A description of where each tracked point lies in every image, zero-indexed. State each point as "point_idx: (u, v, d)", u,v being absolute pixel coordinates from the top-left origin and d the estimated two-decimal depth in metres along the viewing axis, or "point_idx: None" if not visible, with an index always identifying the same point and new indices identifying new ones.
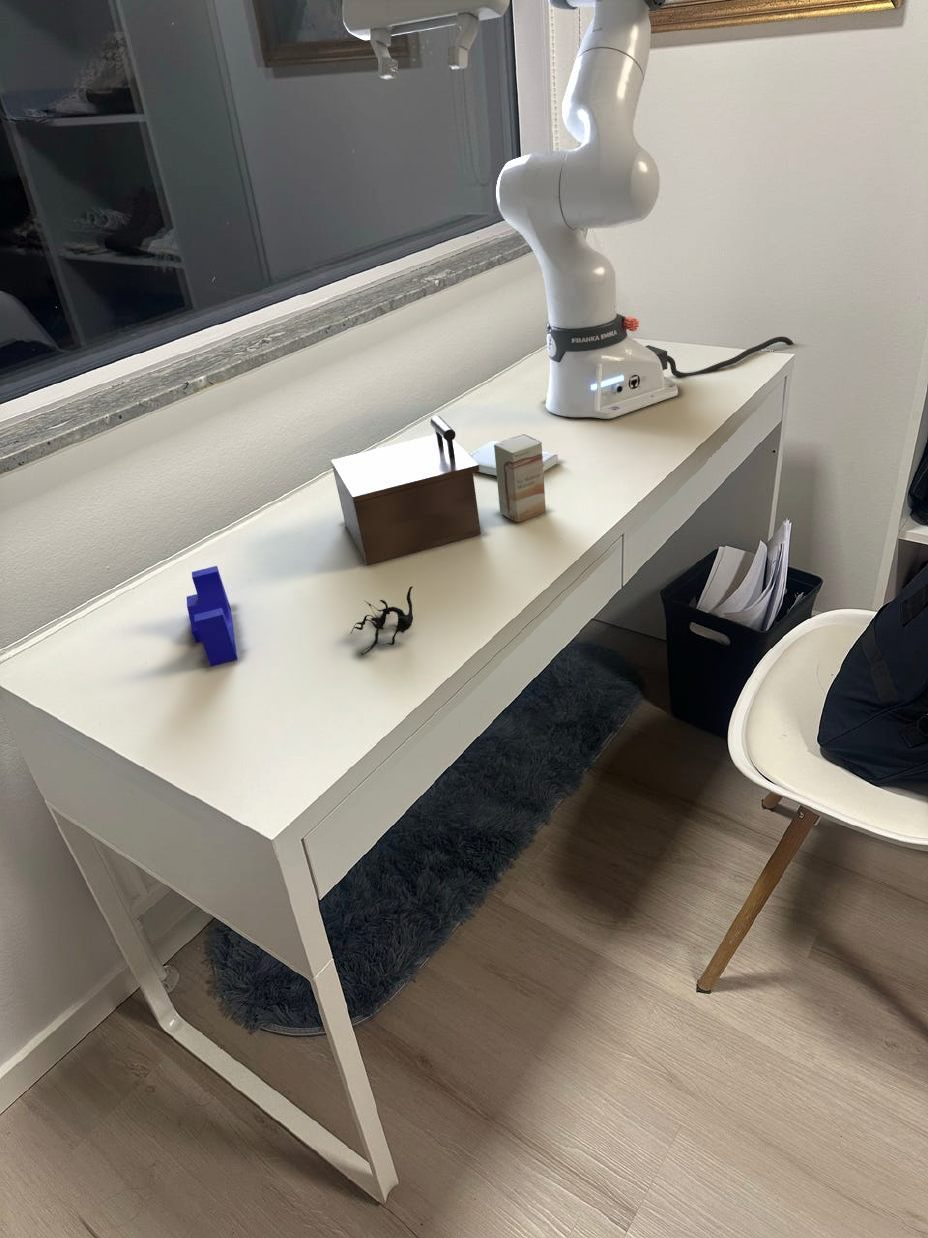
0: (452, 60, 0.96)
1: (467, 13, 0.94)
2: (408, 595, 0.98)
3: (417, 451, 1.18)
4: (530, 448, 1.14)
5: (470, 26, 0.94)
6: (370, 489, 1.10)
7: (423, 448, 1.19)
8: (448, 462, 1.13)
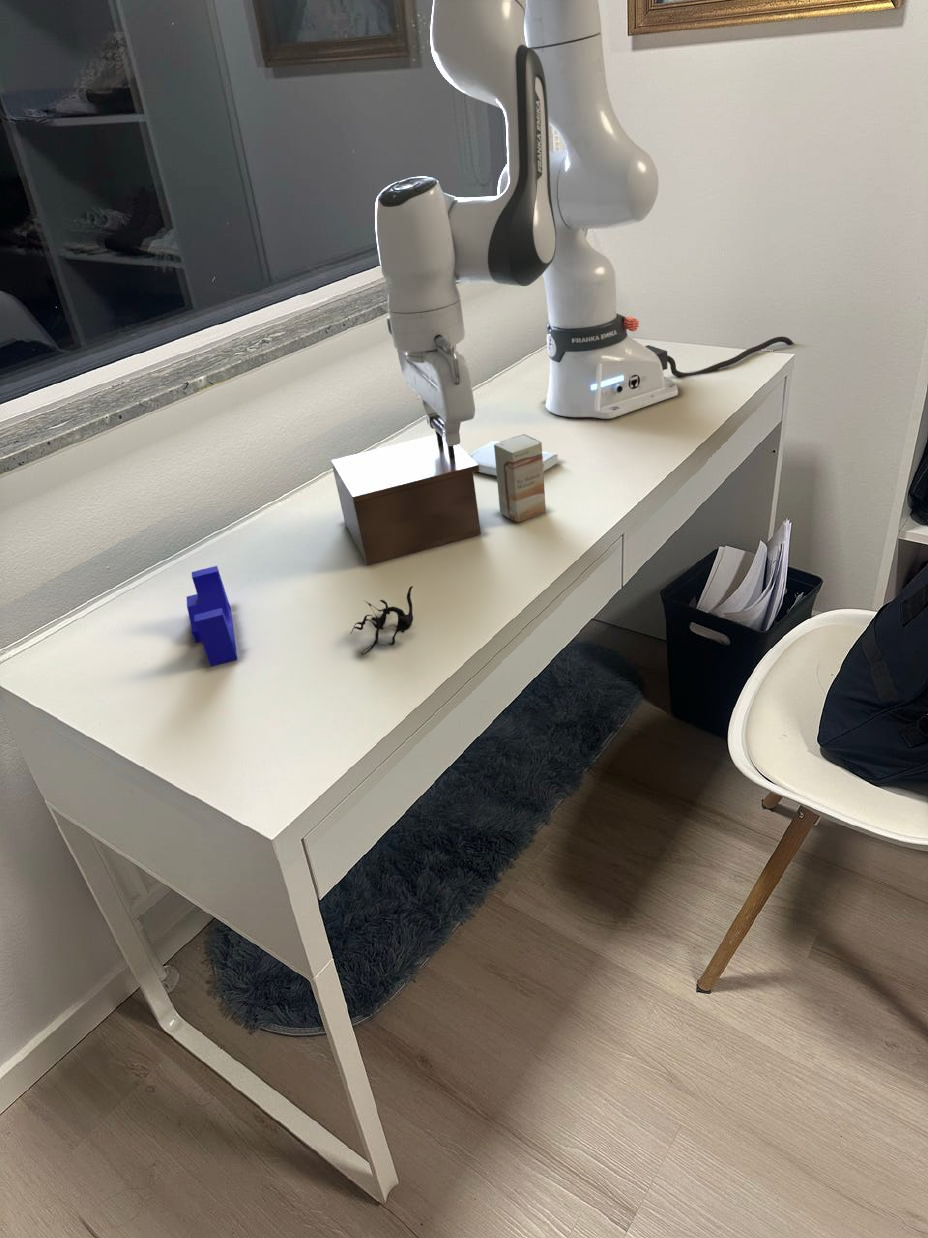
0: (445, 441, 1.12)
1: None
2: (408, 595, 0.98)
3: (417, 451, 1.18)
4: (530, 448, 1.14)
5: None
6: (370, 489, 1.10)
7: (423, 448, 1.19)
8: (448, 462, 1.13)
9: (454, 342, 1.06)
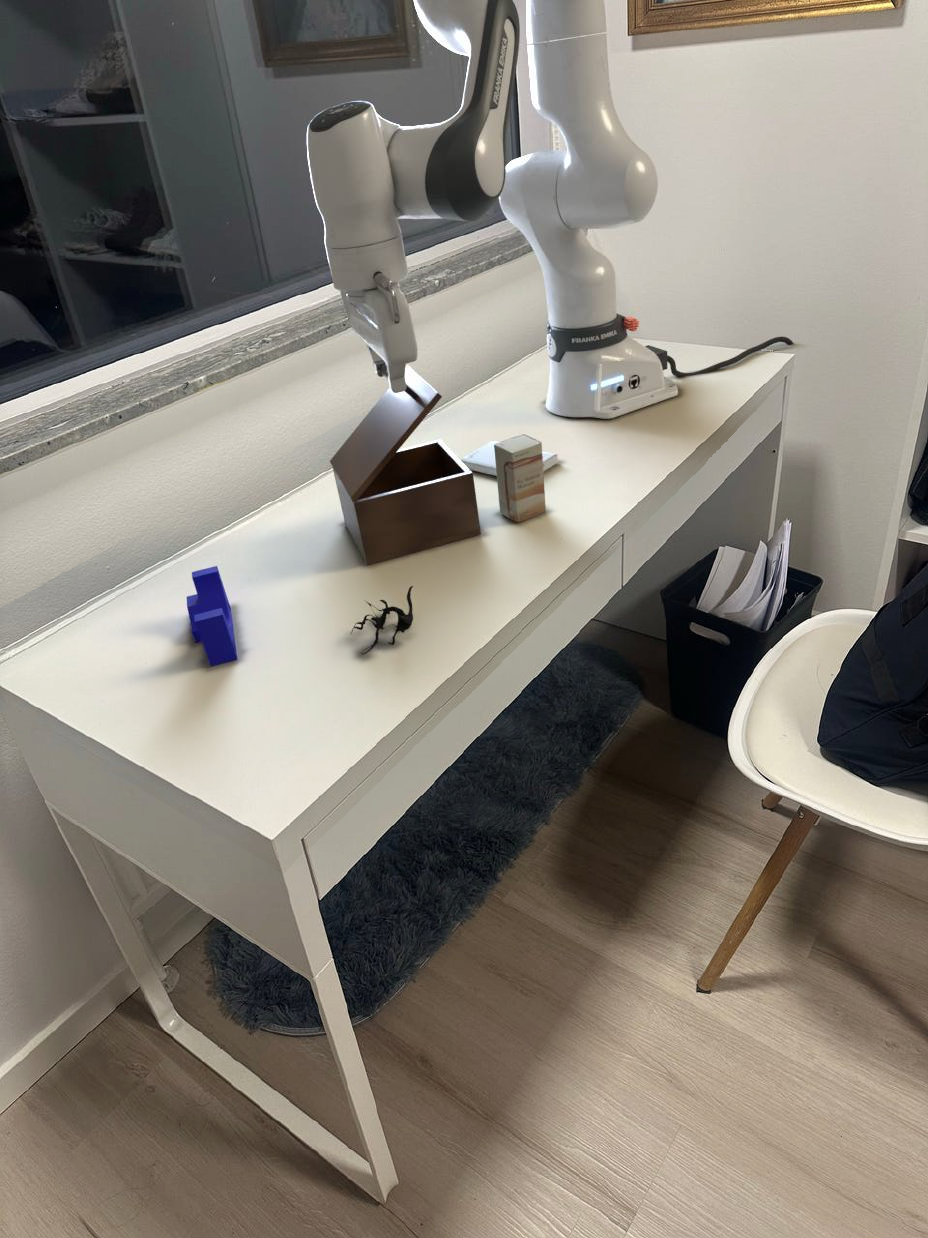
0: (390, 388, 1.07)
1: None
2: (408, 595, 0.98)
3: (389, 406, 1.14)
4: (530, 448, 1.14)
5: (393, 366, 1.03)
6: (361, 479, 1.09)
7: (393, 399, 1.14)
8: (414, 405, 1.08)
9: (395, 280, 1.00)
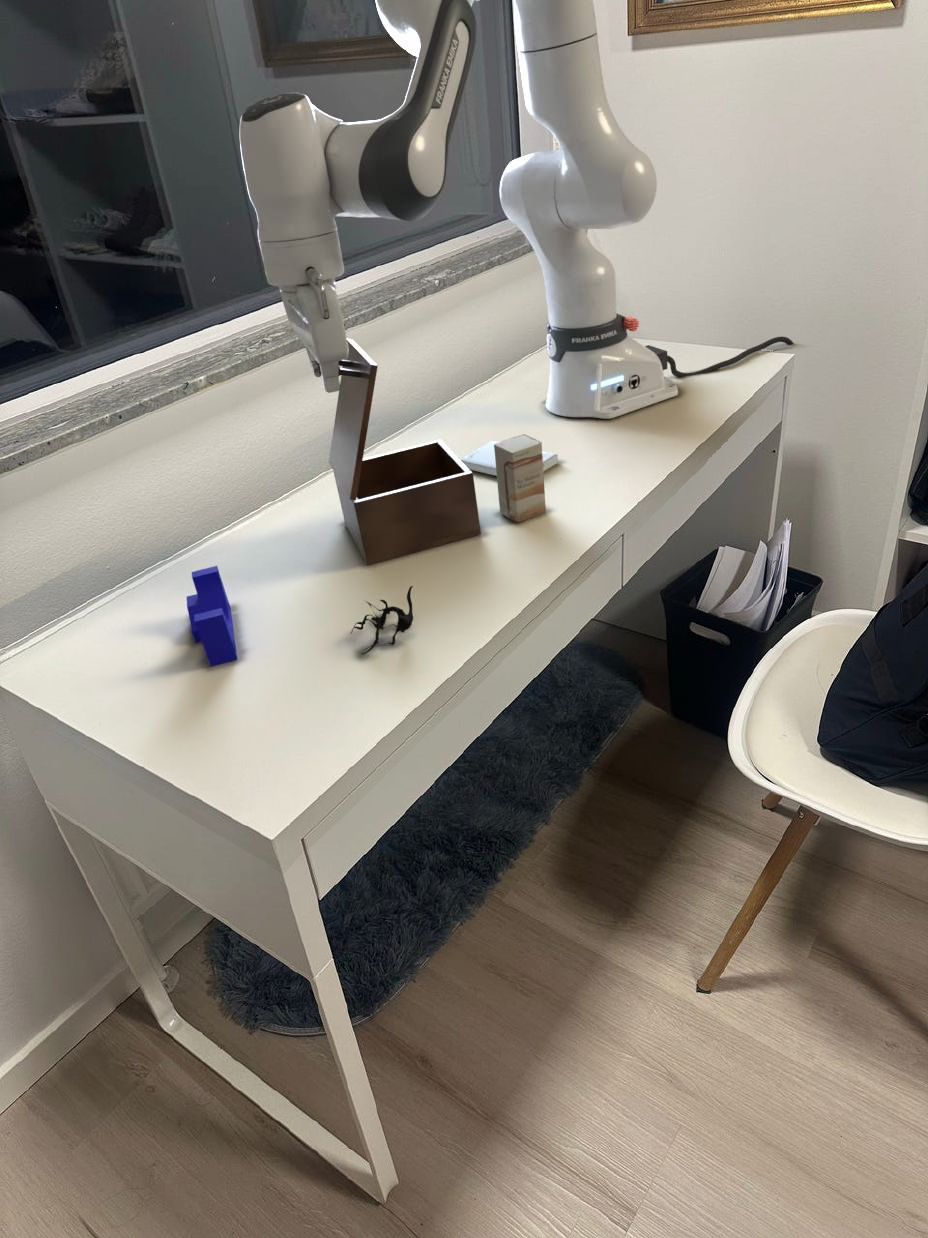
0: (324, 387, 1.04)
1: None
2: (408, 595, 0.98)
3: (347, 390, 1.11)
4: (530, 448, 1.14)
5: (325, 364, 1.01)
6: (351, 477, 1.08)
7: (347, 381, 1.11)
8: (361, 384, 1.05)
9: (329, 276, 0.98)
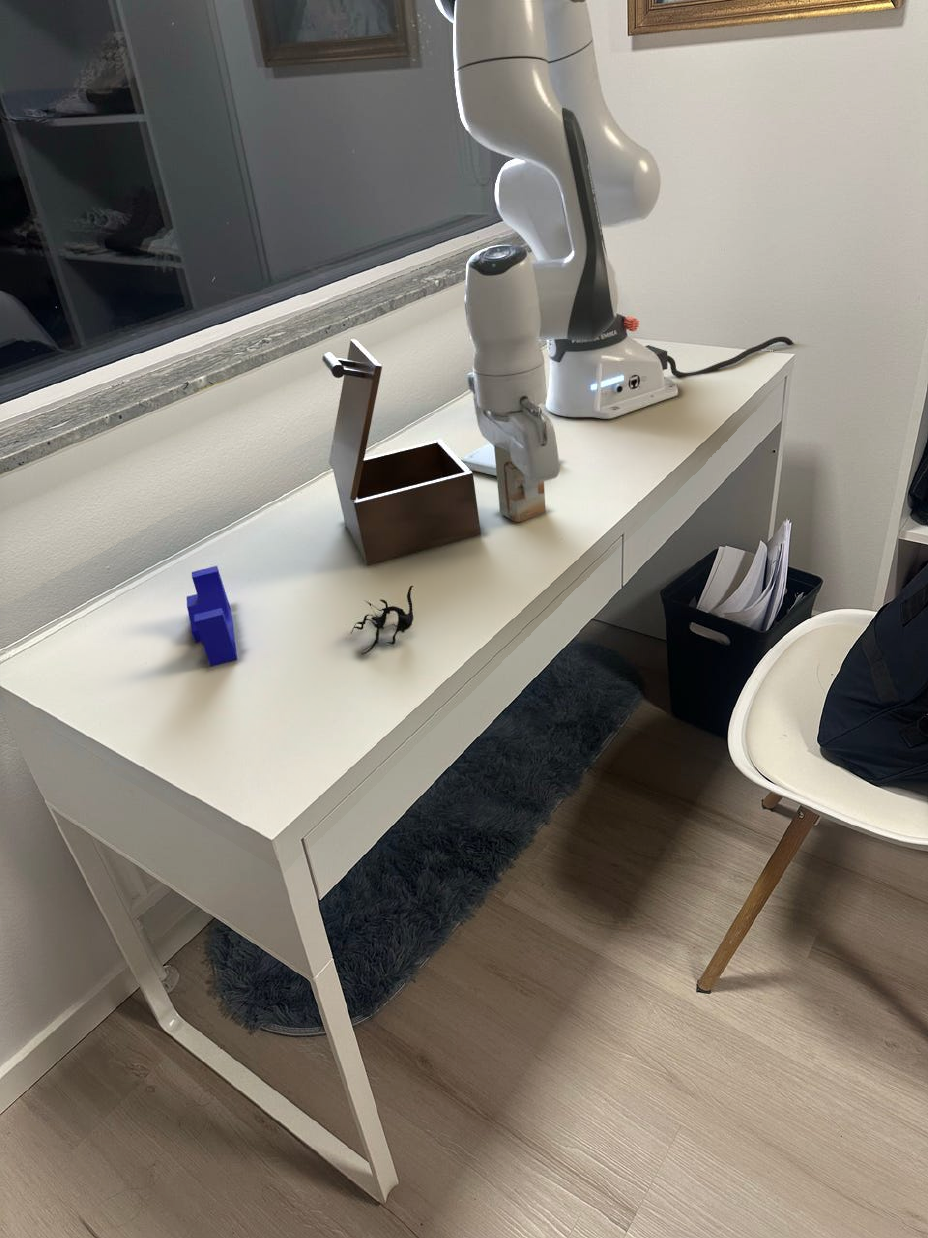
0: (523, 494, 1.16)
1: None
2: (408, 594, 0.98)
3: (350, 390, 1.11)
4: None
5: None
6: (351, 477, 1.08)
7: (350, 382, 1.11)
8: (364, 384, 1.05)
9: (538, 402, 1.09)
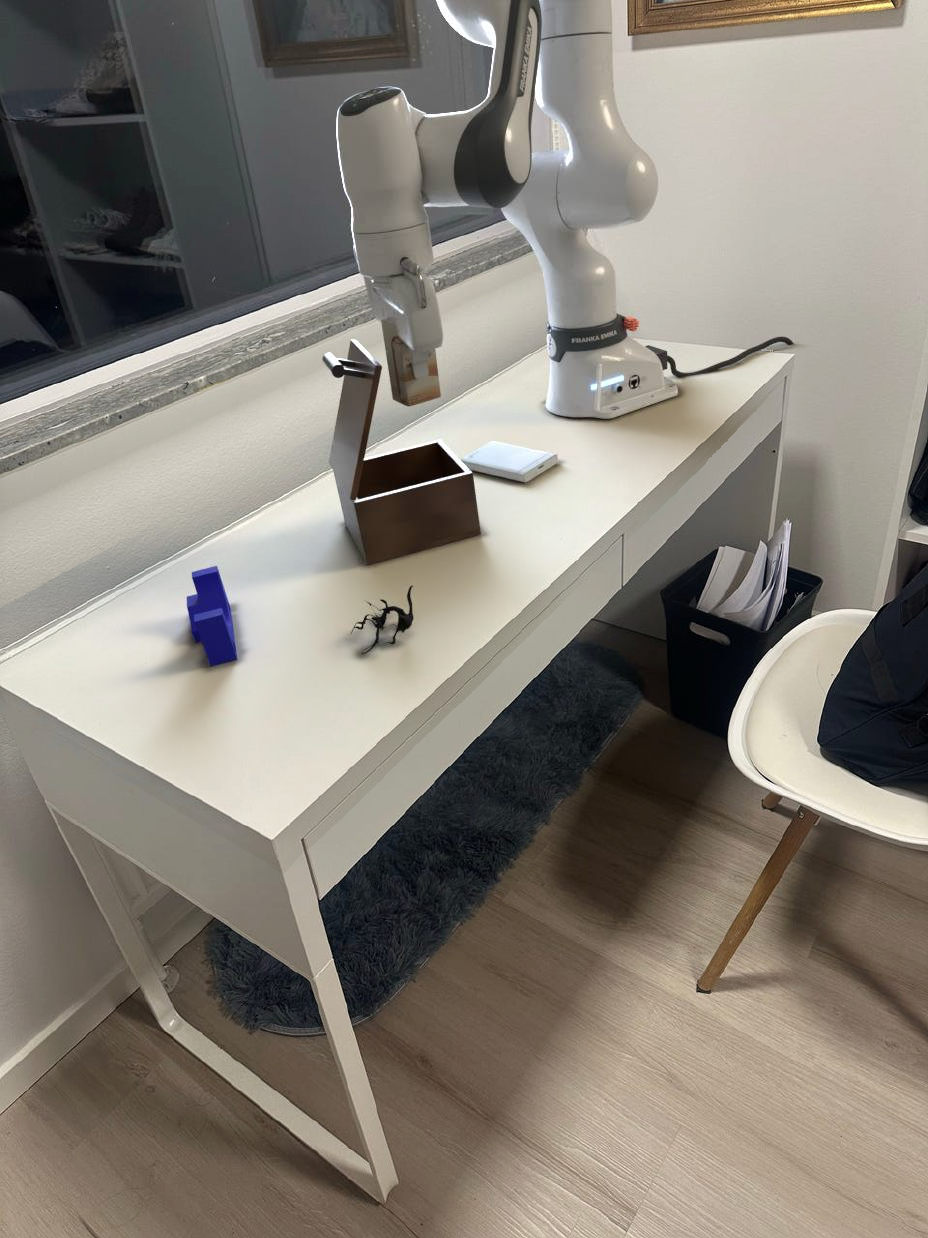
0: (412, 374, 1.07)
1: None
2: (408, 594, 0.98)
3: (350, 390, 1.11)
4: None
5: (416, 351, 1.04)
6: (351, 477, 1.08)
7: (350, 382, 1.11)
8: (364, 384, 1.05)
9: (422, 266, 1.00)
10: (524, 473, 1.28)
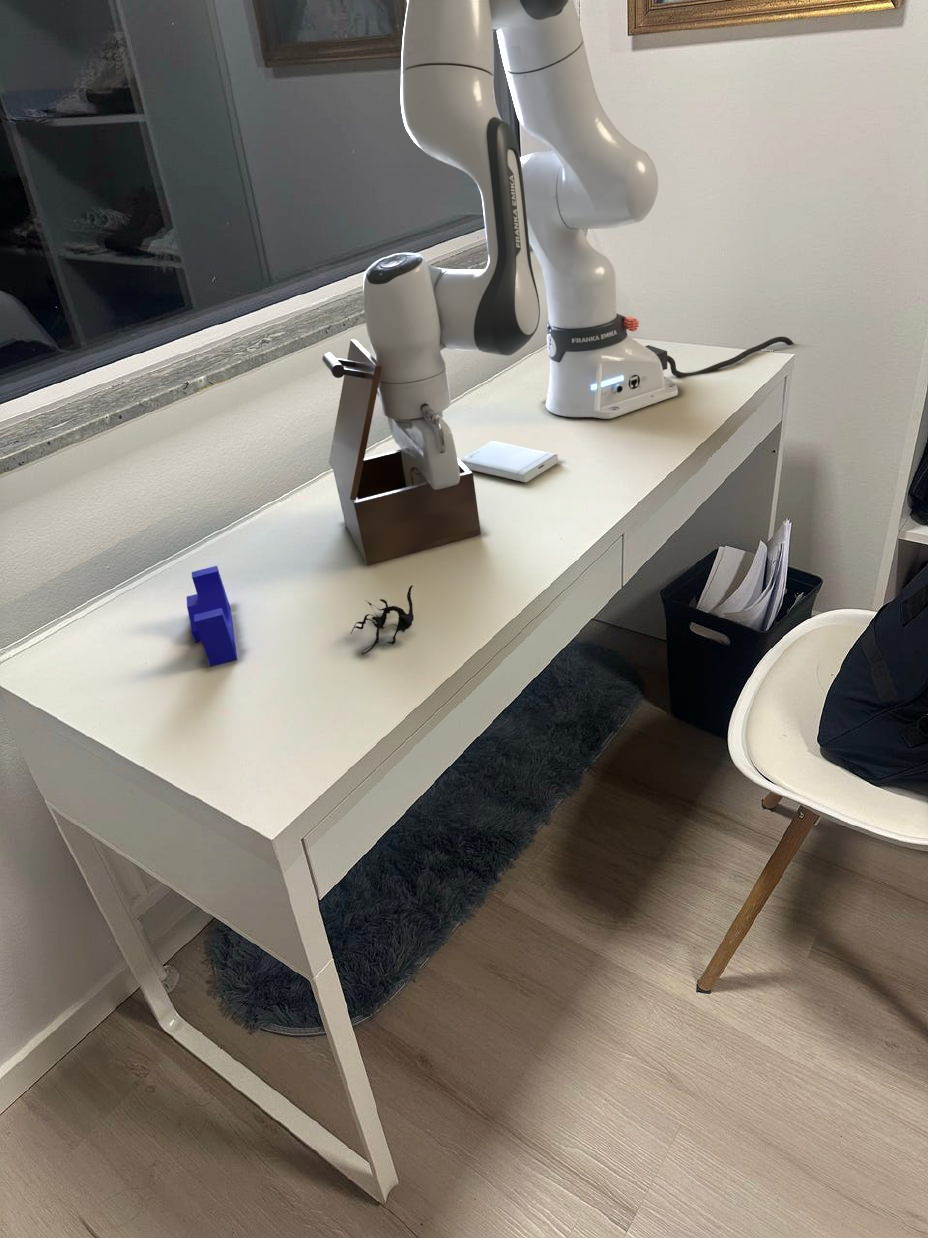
0: None
1: None
2: (408, 594, 0.98)
3: (350, 390, 1.11)
4: None
5: None
6: (351, 477, 1.08)
7: (350, 382, 1.11)
8: (364, 384, 1.05)
9: (440, 410, 1.10)
10: (524, 473, 1.28)
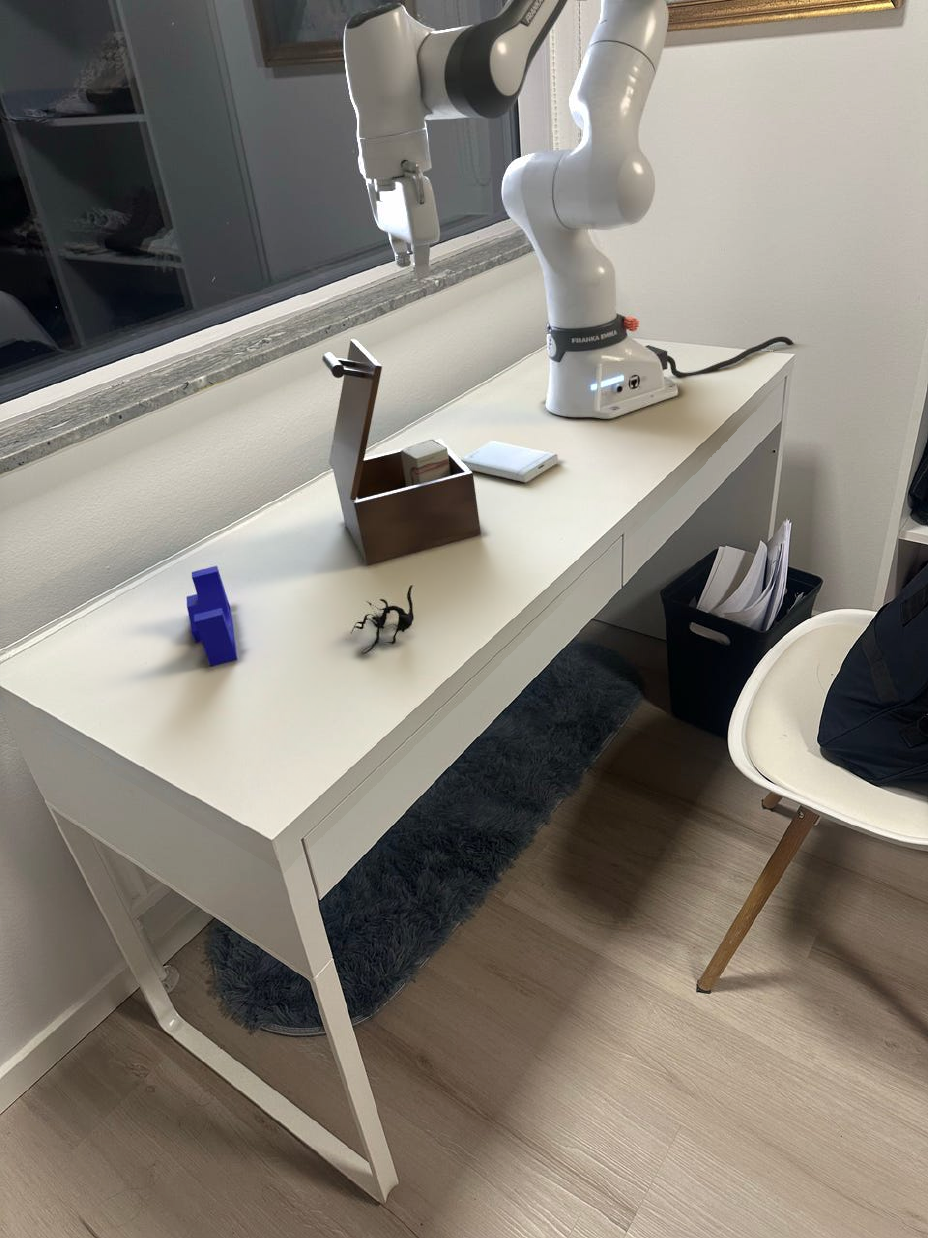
0: (415, 274, 1.17)
1: None
2: (408, 594, 0.98)
3: (350, 390, 1.11)
4: (435, 454, 1.14)
5: (418, 251, 1.14)
6: (351, 477, 1.08)
7: (350, 382, 1.11)
8: (364, 384, 1.05)
9: (420, 169, 1.11)
10: (524, 473, 1.28)
